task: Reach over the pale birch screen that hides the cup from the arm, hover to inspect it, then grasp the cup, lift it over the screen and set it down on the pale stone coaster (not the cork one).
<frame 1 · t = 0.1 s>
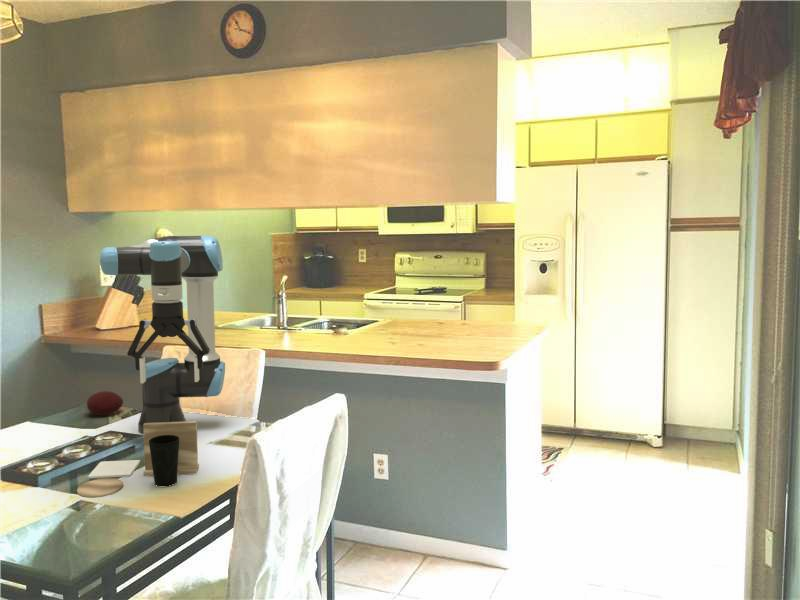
hand: (170, 381, 172), 28 cm above the table, fingers open, 13 cm apart
potato: (104, 414, 237), on the table
cork coaster: (100, 488, 171), on the table
stone coaster: (115, 469, 184), on the table
cup: (165, 483, 176), on the table
screen: (171, 471, 183), on the table
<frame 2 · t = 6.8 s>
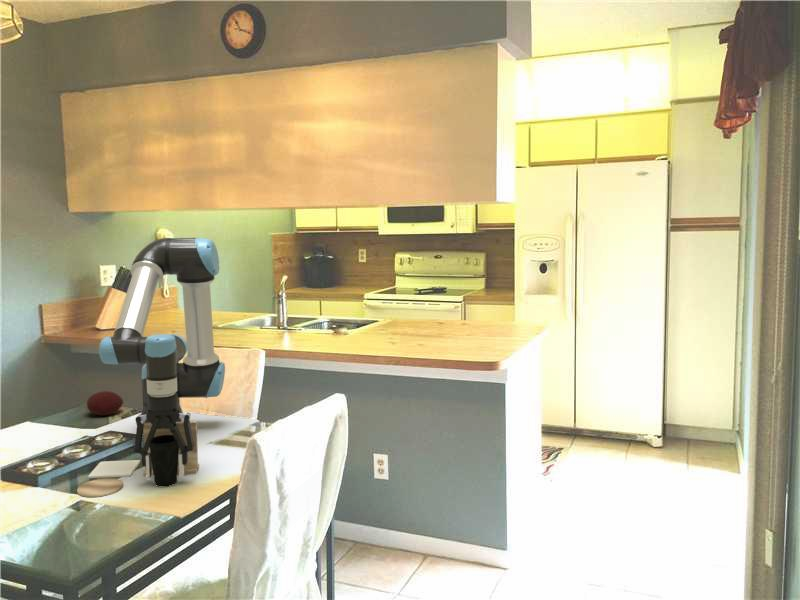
hand: (165, 476, 175), 2 cm above the table, fingers closed on cup, 8 cm apart
cup: (165, 483, 176), on the table, touching gripper
everything else where it was.
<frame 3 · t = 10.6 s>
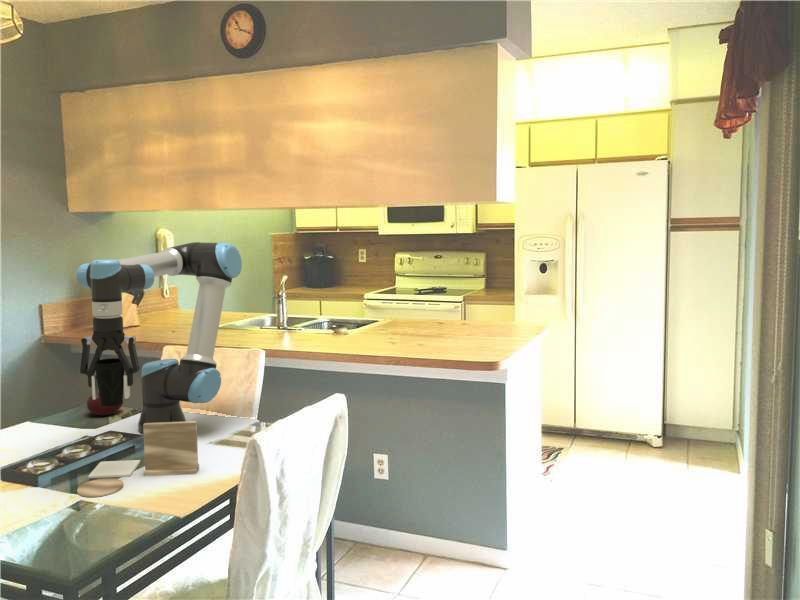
hand: (111, 397, 182), 21 cm above the table, fingers closed on cup, 8 cm apart
cup: (111, 404, 182), point 19 cm above the table, touching gripper
everything else where it was.
when the fingers open (4 cm above the table, at t = 14.3 s): cup drops 2 cm, resting on stone coaster.
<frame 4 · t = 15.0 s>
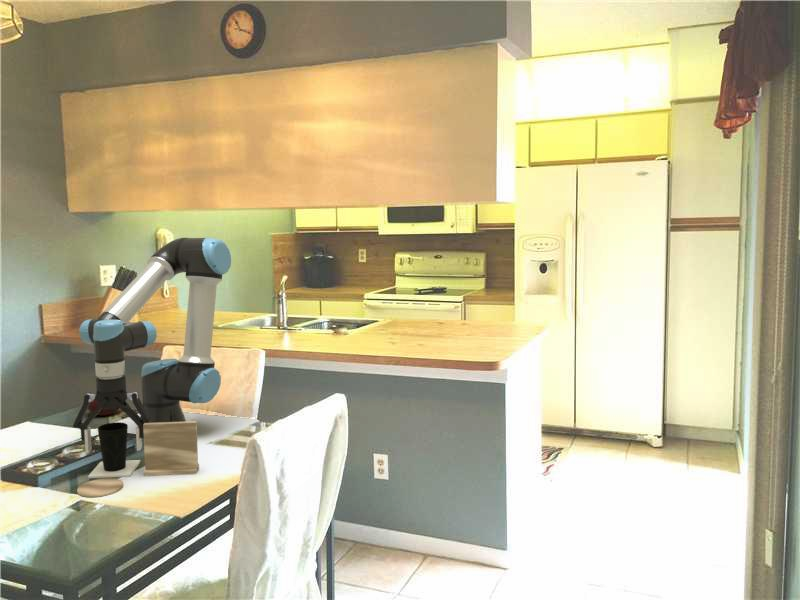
hand: (114, 450, 184), 6 cm above the table, fingers open, 13 cm apart
cup: (114, 468, 184), resting on stone coaster
everything else where it was.
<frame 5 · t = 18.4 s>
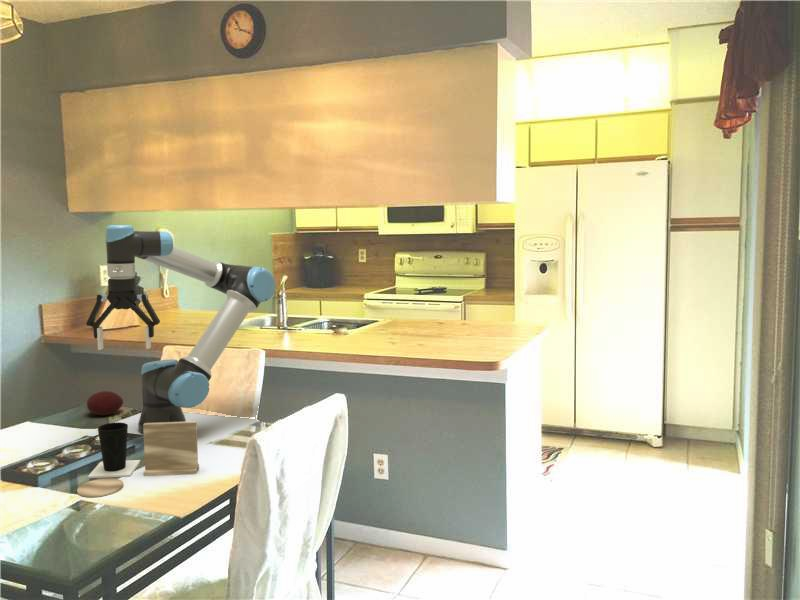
hand: (124, 348, 195), 32 cm above the table, fingers open, 13 cm apart
nothing on the table moved.
at the end: cup inside the target area on the stone coaster (0.0 cm from its centre), point 0.4 cm above the stone coaster's base; cup touching stone coaster; cup tilted 0° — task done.
